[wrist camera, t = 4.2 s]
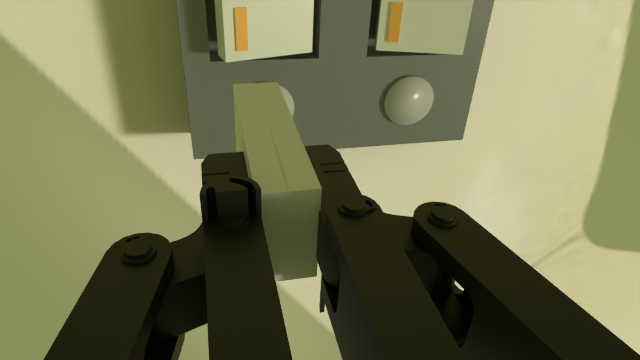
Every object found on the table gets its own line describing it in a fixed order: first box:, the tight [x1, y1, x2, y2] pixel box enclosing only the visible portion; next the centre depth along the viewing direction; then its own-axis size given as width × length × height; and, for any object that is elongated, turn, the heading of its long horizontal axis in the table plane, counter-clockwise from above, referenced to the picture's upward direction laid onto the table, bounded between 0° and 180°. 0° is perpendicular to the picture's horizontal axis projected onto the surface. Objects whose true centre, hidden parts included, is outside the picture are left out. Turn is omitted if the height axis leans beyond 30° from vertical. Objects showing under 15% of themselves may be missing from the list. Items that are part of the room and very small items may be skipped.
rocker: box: [375, 0, 474, 55], centre depth 30 cm, size 4×6×2 cm, turn 87°
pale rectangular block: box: [214, 0, 314, 62], centre depth 28 cm, size 4×6×2 cm, turn 87°
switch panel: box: [176, 0, 494, 159], centre depth 33 cm, size 12×20×4 cm, turn 87°
